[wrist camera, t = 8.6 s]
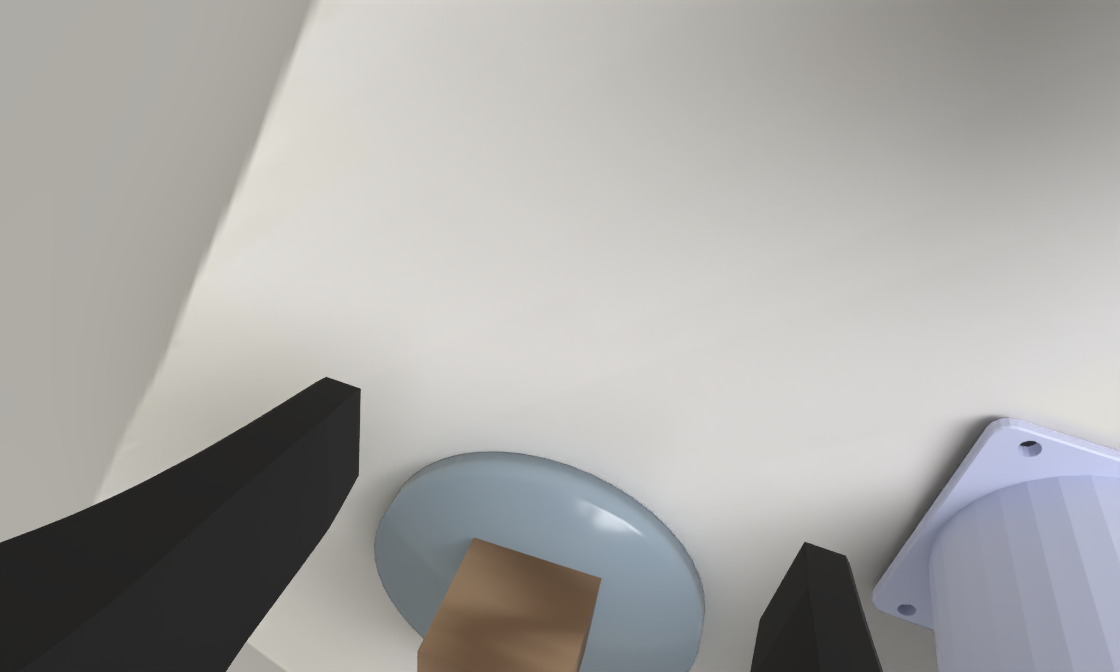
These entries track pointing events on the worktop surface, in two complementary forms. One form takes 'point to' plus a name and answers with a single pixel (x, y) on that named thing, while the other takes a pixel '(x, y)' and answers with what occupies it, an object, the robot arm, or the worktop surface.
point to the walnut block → (510, 615)
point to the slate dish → (547, 551)
